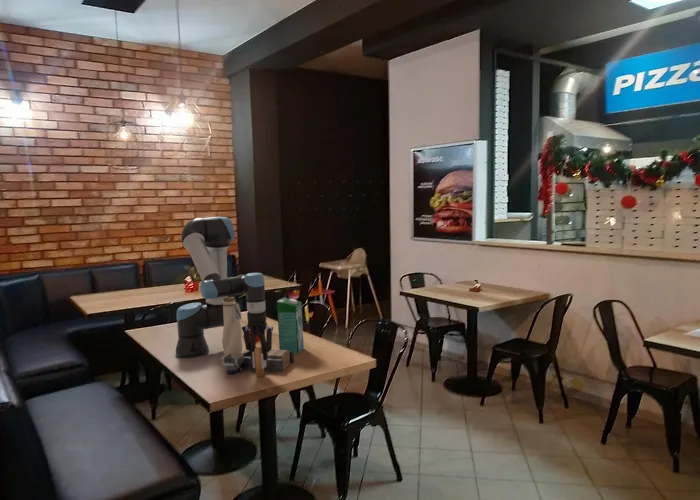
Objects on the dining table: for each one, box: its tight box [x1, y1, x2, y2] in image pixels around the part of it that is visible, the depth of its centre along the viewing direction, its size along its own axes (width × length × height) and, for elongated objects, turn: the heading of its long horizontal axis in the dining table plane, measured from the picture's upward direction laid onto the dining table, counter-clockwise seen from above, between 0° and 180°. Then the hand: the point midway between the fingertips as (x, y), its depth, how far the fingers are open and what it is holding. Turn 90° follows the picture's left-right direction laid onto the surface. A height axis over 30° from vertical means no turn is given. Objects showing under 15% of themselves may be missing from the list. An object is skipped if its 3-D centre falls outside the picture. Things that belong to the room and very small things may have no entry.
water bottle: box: [221, 296, 243, 358], centre depth 237 cm, size 10×9×28 cm
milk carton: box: [276, 297, 305, 355], centre depth 244 cm, size 9×9×25 cm
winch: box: [221, 353, 244, 376], centre depth 219 cm, size 7×8×7 cm
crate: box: [267, 348, 291, 370], centre depth 224 cm, size 8×8×6 cm
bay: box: [237, 348, 296, 373], centre depth 226 cm, size 21×13×5 cm, turn 71°
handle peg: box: [254, 345, 266, 378], centre depth 213 cm, size 3×3×12 cm
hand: (259, 367), depth 213 cm, fingers closed on handle peg, 3 cm apart
